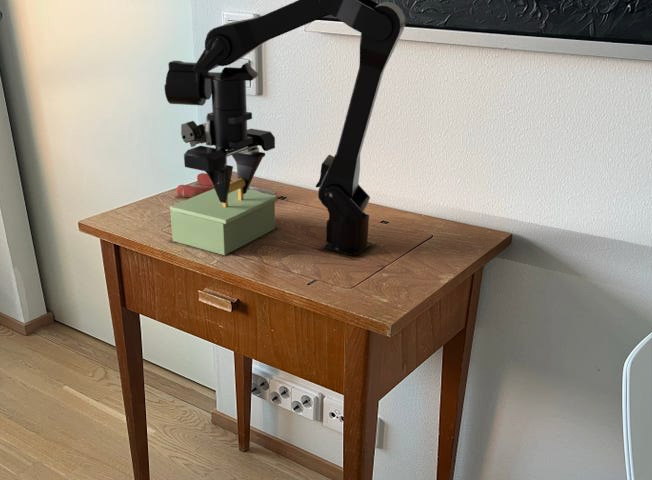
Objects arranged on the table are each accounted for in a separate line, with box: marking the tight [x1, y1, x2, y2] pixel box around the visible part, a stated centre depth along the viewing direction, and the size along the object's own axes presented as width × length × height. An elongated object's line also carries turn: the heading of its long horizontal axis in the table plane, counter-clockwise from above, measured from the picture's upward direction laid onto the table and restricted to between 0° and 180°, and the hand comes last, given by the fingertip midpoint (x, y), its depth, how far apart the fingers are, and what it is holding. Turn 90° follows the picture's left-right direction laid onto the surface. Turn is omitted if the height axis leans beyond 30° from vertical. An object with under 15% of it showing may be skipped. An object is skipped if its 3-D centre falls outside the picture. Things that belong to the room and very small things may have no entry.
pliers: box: [176, 172, 277, 199], centre depth 154 cm, size 12×20×3 cm, turn 68°
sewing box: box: [169, 200, 276, 256], centre depth 133 cm, size 12×15×6 cm
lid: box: [169, 178, 278, 224], centre depth 131 cm, size 12×15×4 cm
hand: (233, 197), depth 130 cm, fingers closed on lid, 5 cm apart
